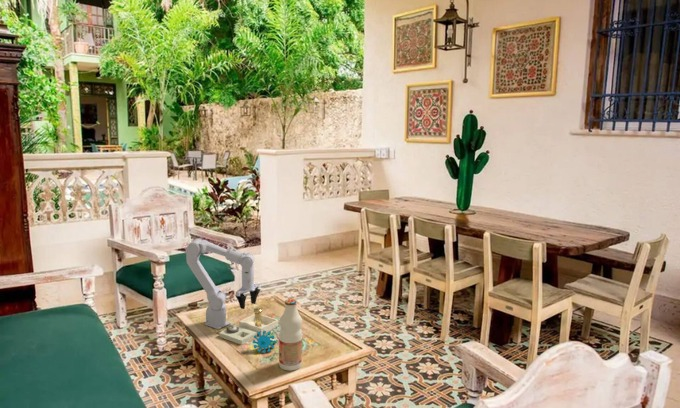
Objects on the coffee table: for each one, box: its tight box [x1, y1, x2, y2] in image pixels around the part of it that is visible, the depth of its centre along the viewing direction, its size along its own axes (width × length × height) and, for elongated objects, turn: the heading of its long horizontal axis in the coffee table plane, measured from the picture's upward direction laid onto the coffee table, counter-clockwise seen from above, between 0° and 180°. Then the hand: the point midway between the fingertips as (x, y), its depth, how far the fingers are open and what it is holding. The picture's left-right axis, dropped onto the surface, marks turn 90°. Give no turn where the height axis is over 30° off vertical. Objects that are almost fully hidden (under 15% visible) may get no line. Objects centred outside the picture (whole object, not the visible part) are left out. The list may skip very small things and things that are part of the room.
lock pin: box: [253, 307, 263, 328], centre depth 226 cm, size 4×4×9 cm
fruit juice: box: [278, 298, 303, 371], centre depth 190 cm, size 9×9×28 cm
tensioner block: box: [218, 324, 258, 346], centre depth 216 cm, size 14×10×4 cm
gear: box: [252, 331, 279, 354], centre depth 206 cm, size 11×6×10 cm
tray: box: [238, 313, 279, 336], centre depth 227 cm, size 14×12×4 cm
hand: (247, 305), depth 228 cm, fingers open, 7 cm apart
